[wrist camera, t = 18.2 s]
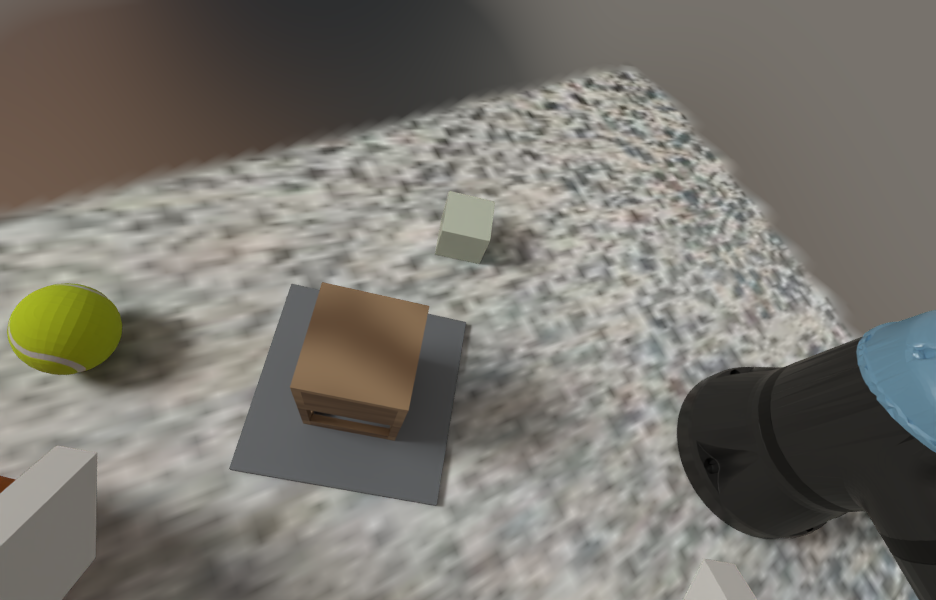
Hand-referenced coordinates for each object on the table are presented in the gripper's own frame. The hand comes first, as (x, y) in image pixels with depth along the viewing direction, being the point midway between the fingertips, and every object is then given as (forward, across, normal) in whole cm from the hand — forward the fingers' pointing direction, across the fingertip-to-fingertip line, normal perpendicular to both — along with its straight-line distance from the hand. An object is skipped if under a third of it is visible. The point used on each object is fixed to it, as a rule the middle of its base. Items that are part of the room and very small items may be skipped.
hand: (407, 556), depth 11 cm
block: (+43, +3, -3) cm, 43 cm away
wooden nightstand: (+30, -4, -14) cm, 33 cm away
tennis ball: (+30, -25, -15) cm, 42 cm away
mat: (+31, -4, -14) cm, 34 cm away
